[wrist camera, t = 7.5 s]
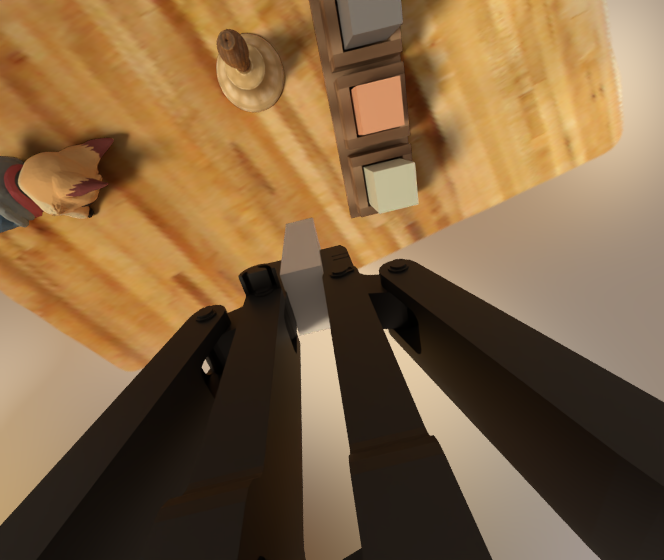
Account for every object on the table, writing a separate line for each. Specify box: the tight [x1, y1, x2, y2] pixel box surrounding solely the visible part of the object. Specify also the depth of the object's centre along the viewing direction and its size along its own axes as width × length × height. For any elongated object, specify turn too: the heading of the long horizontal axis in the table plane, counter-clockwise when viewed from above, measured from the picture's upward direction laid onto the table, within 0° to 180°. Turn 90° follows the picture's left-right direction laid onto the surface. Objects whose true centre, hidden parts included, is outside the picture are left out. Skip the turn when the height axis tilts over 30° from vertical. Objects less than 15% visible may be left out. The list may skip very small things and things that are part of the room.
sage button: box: [363, 158, 418, 214], centre depth 39 cm, size 5×5×6 cm
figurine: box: [0, 138, 114, 233], centre depth 38 cm, size 10×12×20 cm
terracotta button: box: [350, 75, 405, 135], centre depth 37 cm, size 5×5×6 cm
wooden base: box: [309, 0, 412, 218], centre depth 39 cm, size 28×10×5 cm, turn 12°
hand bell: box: [216, 29, 284, 112], centre depth 31 cm, size 8×8×16 cm
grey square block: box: [337, 0, 403, 50], centre depth 31 cm, size 5×5×6 cm
